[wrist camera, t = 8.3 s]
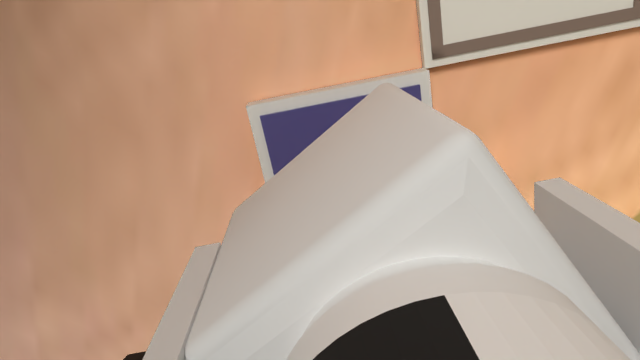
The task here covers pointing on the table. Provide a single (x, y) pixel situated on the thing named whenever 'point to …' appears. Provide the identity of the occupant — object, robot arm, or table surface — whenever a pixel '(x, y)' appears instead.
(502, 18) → the print card
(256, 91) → the table surface
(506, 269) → the medicine bottle
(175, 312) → the robot arm
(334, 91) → the ink pad
